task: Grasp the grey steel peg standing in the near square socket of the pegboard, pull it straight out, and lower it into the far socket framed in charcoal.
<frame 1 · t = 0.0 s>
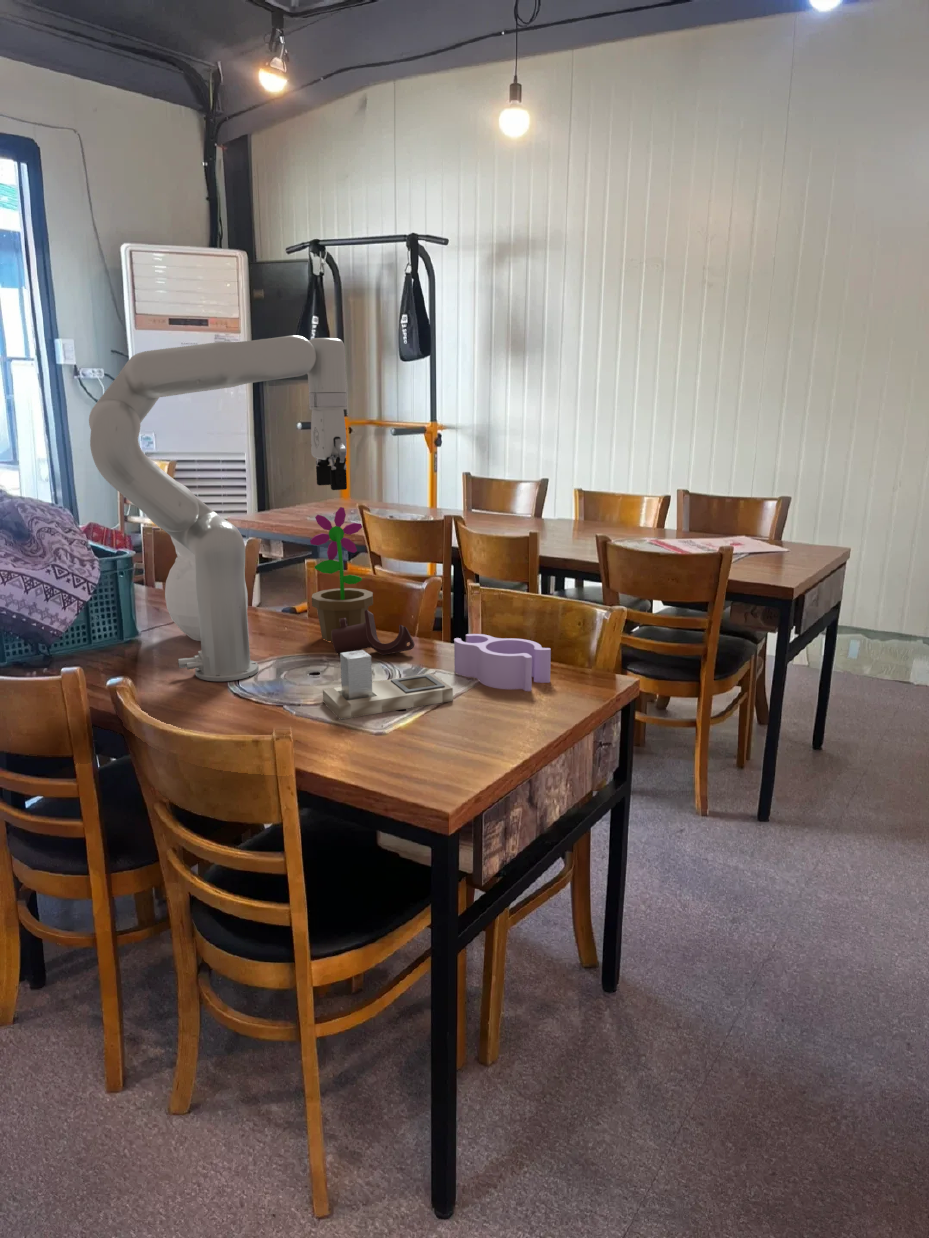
hand: (331, 487, 189), 37 cm above the table, tool pointing down, fingers open, 9 cm apart
peg: (357, 706, 168), resting in pegboard
flowerpot: (344, 638, 214), on the table
clip: (499, 678, 185), on the table
pegboard: (388, 701, 171), on the table
bracket: (374, 654, 201), on the table
pitcher: (210, 637, 215), on the table
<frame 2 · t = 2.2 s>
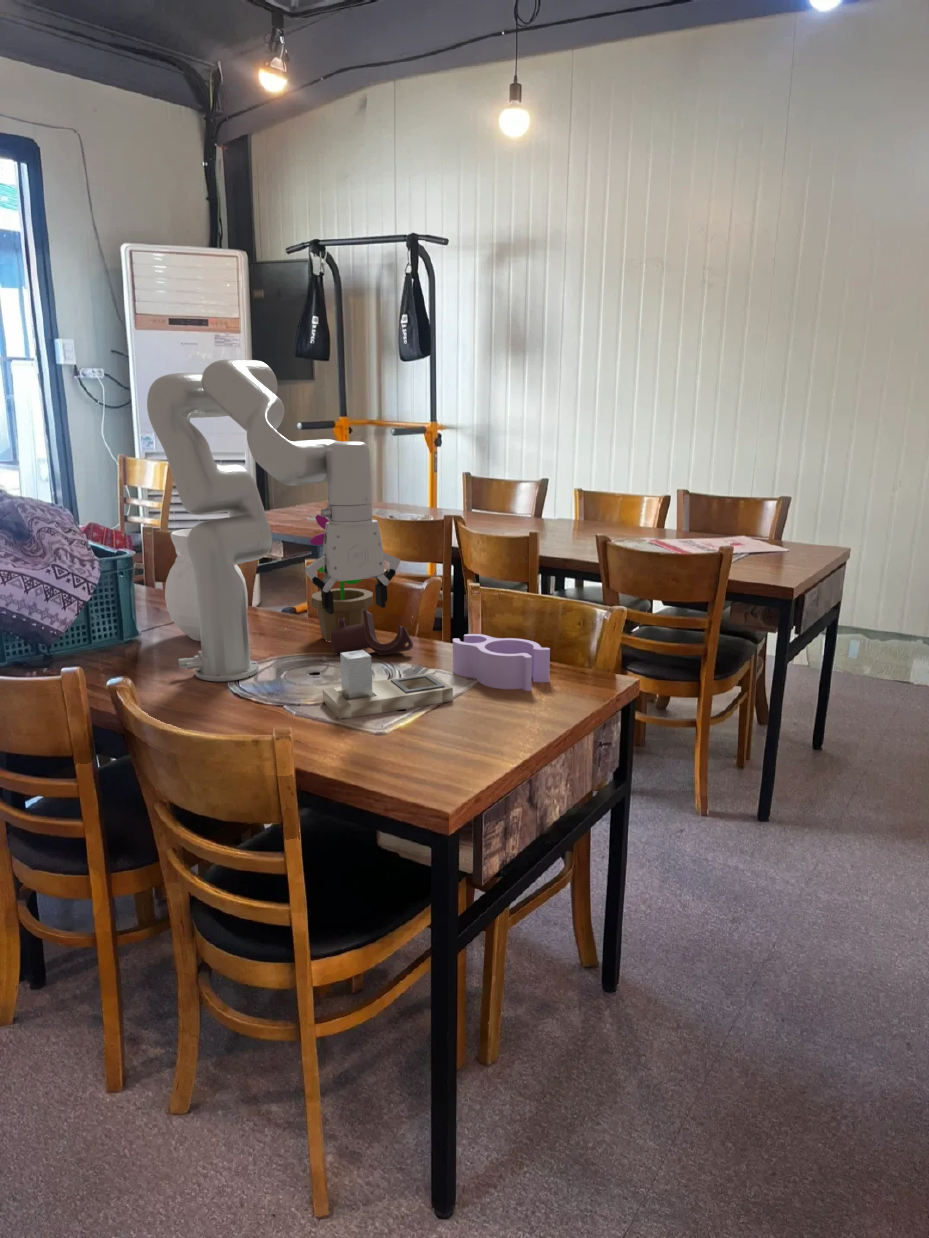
hand: (355, 609, 163), 18 cm above the table, tool pointing down, fingers open, 9 cm apart
nothing on the table moved.
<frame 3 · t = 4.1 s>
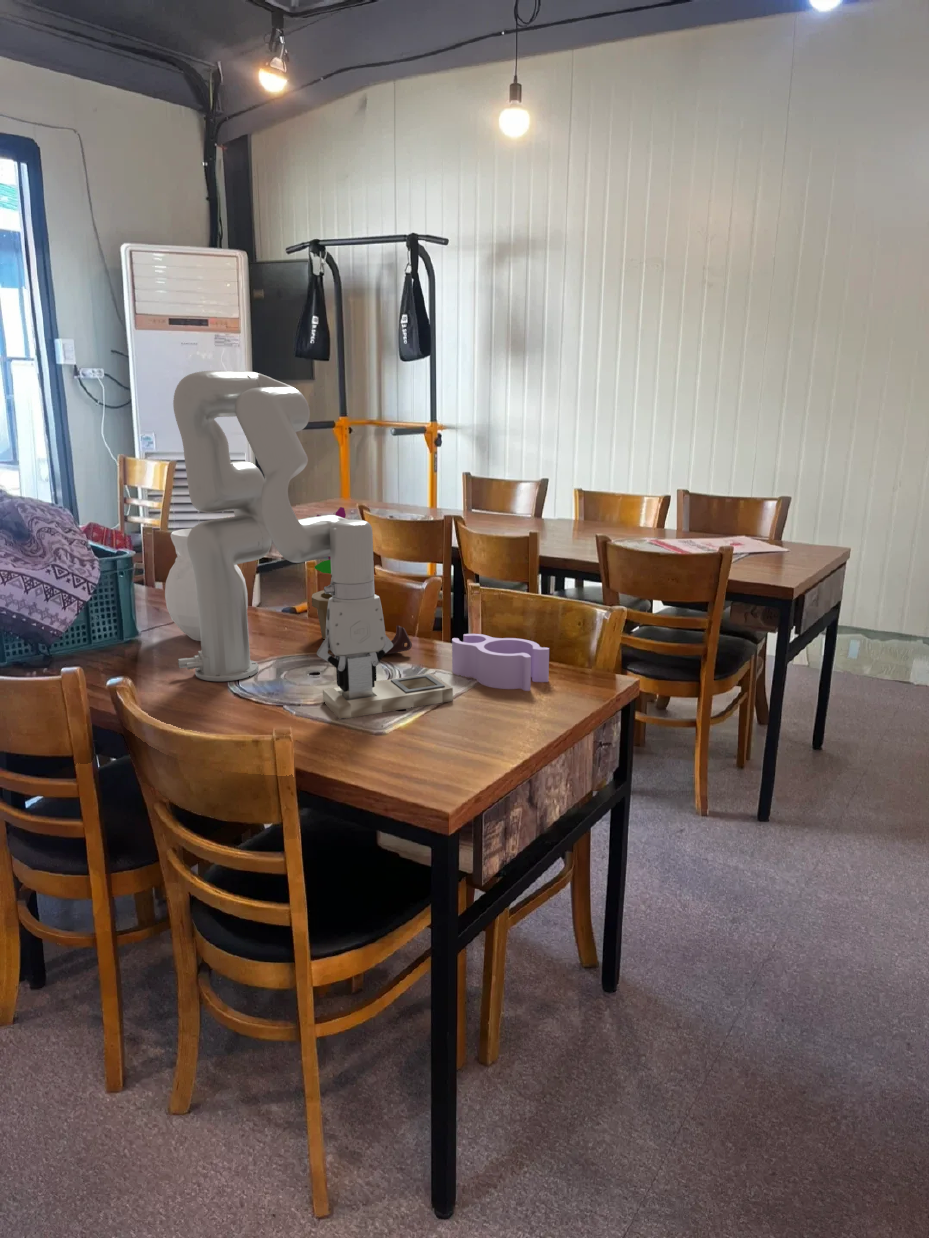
hand: (356, 686, 167), 4 cm above the table, tool pointing down, fingers closed on peg, 4 cm apart
peg: (357, 706, 168), resting in pegboard, touching gripper
everything else where it was.
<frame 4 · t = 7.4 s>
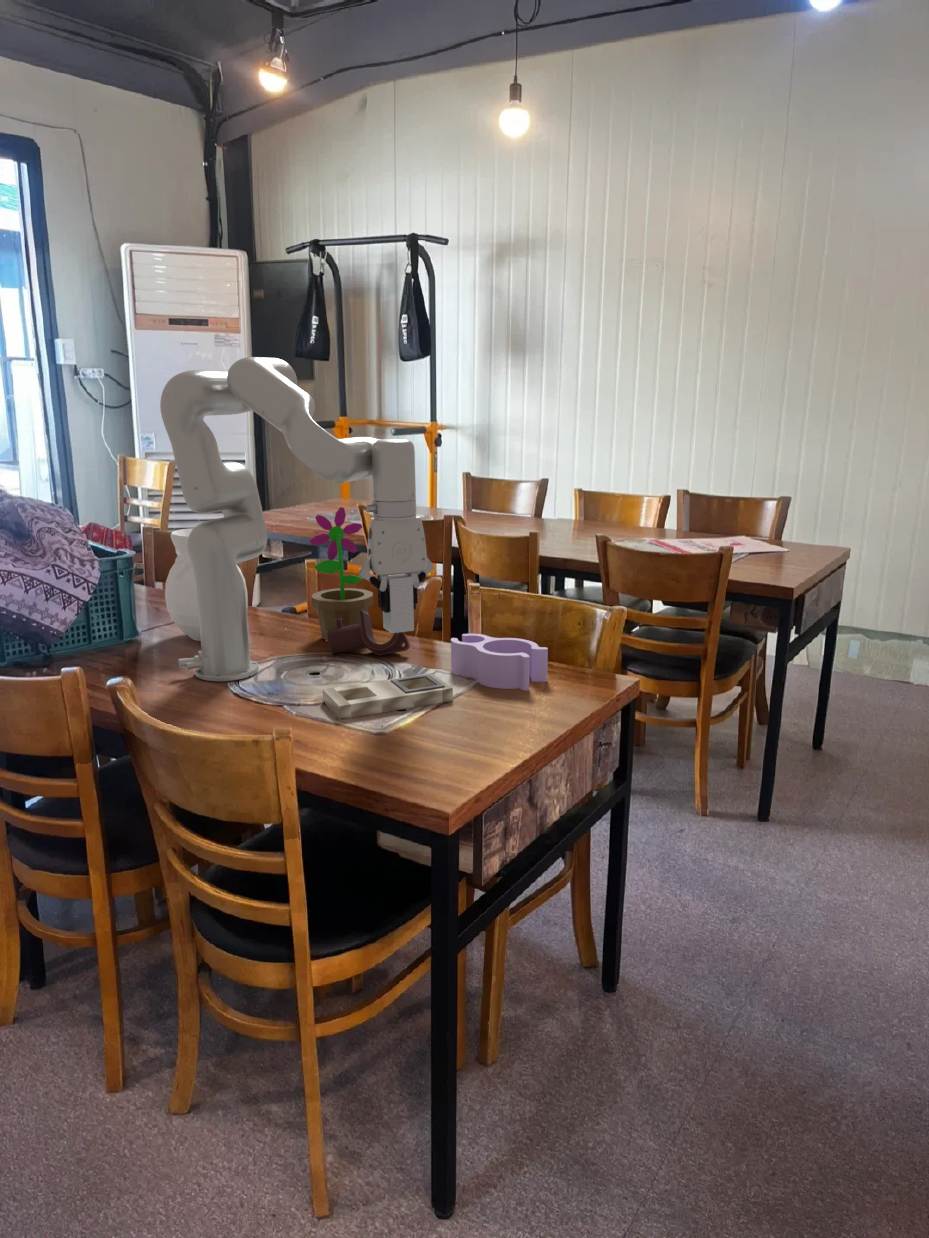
hand: (398, 608, 167), 18 cm above the table, tool pointing down, fingers closed on peg, 4 cm apart
peg: (398, 629, 168), point 14 cm above the table, touching gripper
everything else where it was.
when the fingers open (5 cm above the table, at t = 11.0 s): peg drops 1 cm, resting in pegboard.
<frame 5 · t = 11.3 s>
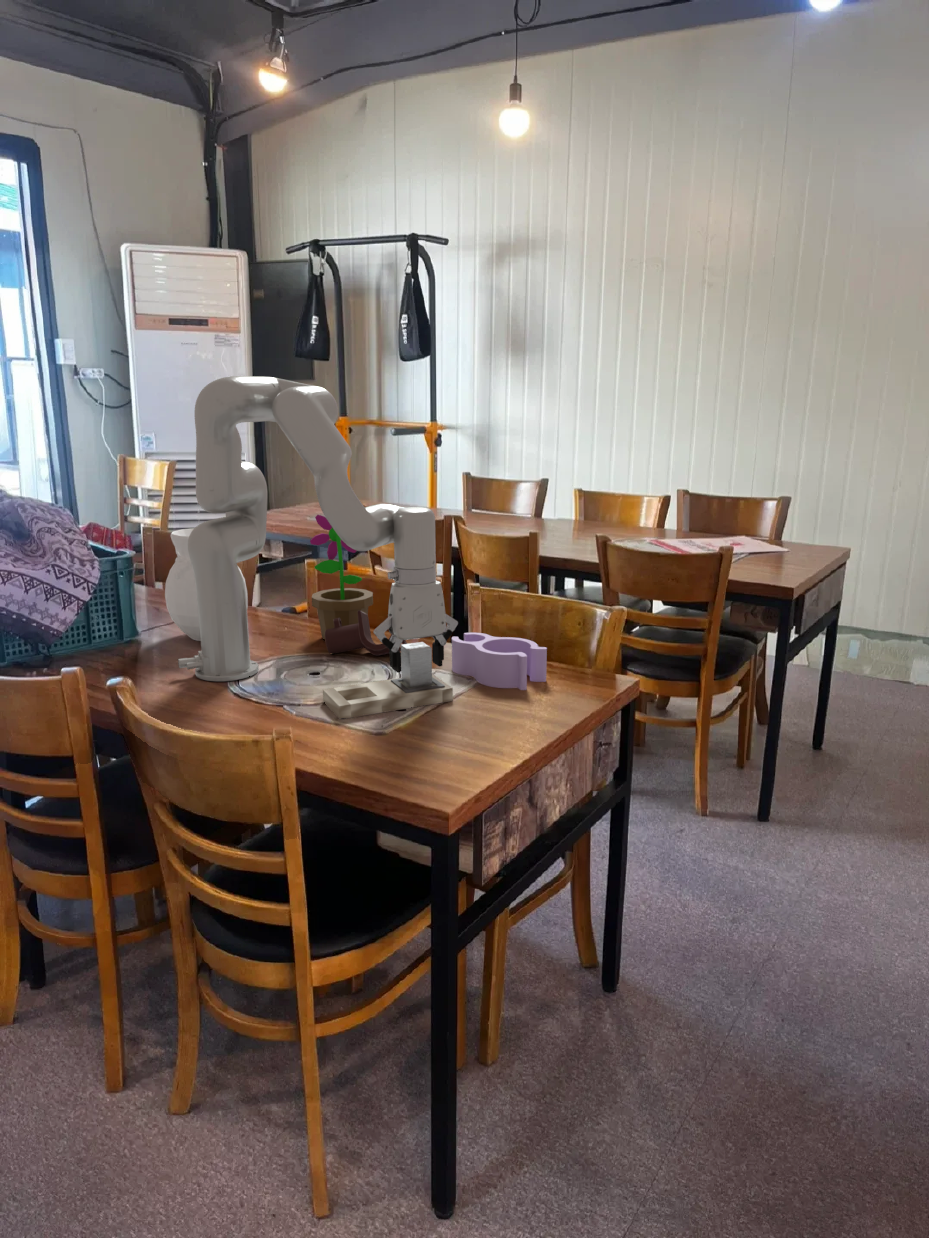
hand: (417, 666, 172), 6 cm above the table, tool pointing down, fingers open, 7 cm apart
peg: (417, 696, 173), resting in pegboard
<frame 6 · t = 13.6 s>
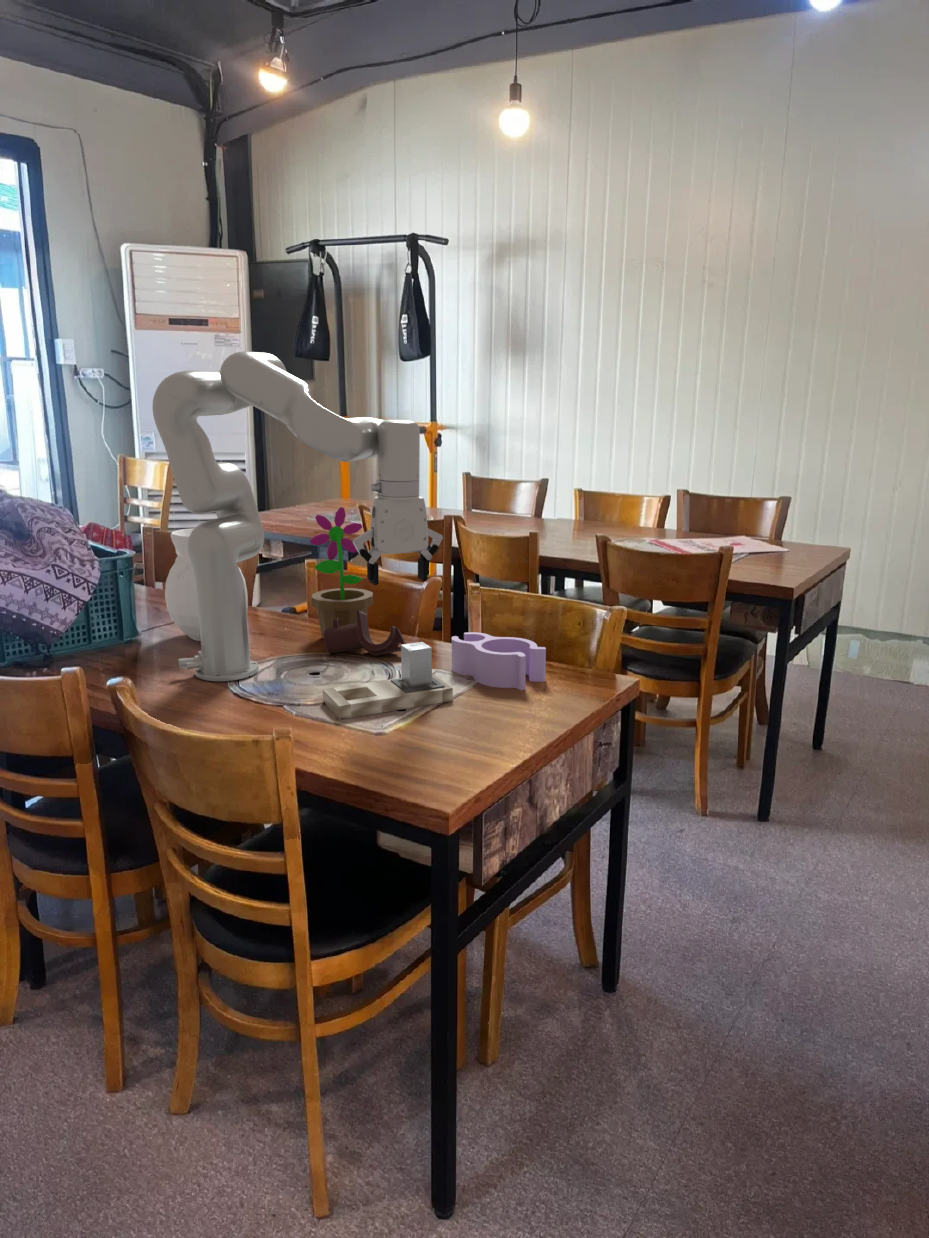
hand: (398, 581, 170), 22 cm above the table, tool pointing down, fingers open, 9 cm apart
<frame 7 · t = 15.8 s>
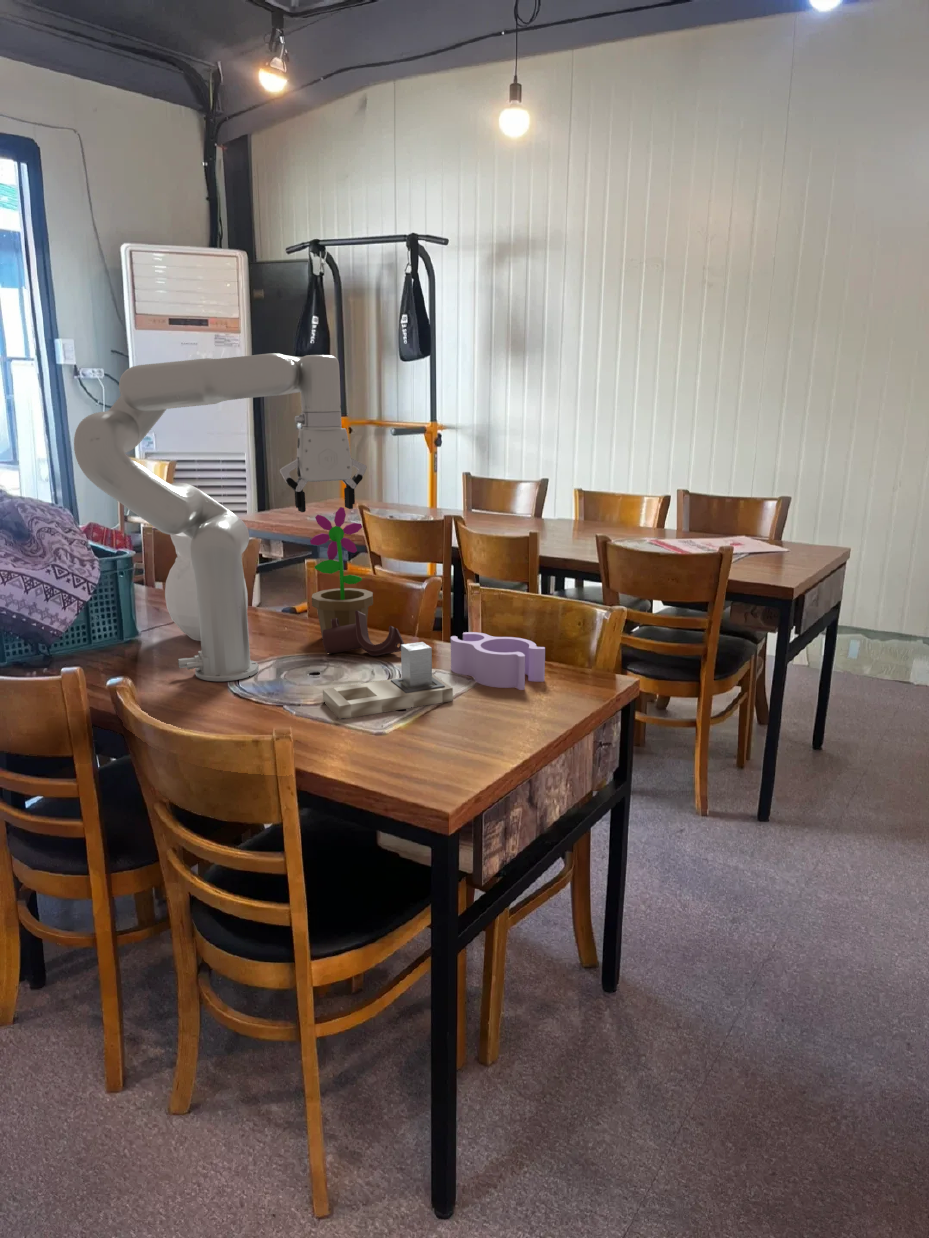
hand: (325, 509, 181), 33 cm above the table, tool pointing down, fingers open, 9 cm apart
at the end: peg 0.1 cm from the target spot on the pegboard, point 0.0 cm above the pegboard's base; peg tilted 0°; the gripper is holding nothing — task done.
